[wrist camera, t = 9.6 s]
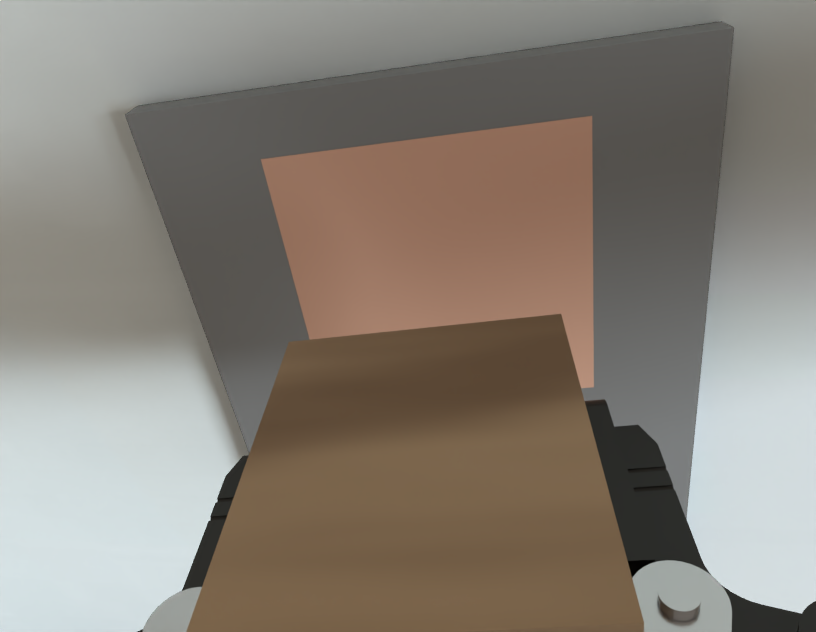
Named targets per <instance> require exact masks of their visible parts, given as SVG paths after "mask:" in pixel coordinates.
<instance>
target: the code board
mask: <svg viewBox="0 0 816 632" xmlns="http://www.w3.org/2000/svg"><path fill="white" fill-rule="evenodd" d="M733 33H734V27H731V26H729V25H727V24H725V23H723V22H715V23H708V24H701V25H694V26H688V27H681V28H674V29H667V30H660V31H653V32H646V33H639V34H632V35H625V36H618V37H611V38H605V39H598V40H591V41H584V42H577V43H570V44H563V45H556V46H549V47H542V48H535V49H528V50H522V51H515V52H508V53H501V54H494V55H487V56H480V57H473V58H466V59H459V60H452V61H445V62H438V63H432V64H425V65H418V66H411V67H404V68H397V69H390V70H383V71H376V72H369V73H362V74H355V75H349V76H342V77H335V78H328V79H321V80H314V81H307V82H300V83H293V84H286V85H279V86H272V87H266V88H259V89H252V90H245V91H238V92H231V93H224V94H217V95H210V96H203V97H196V98H189V99H183V100H176V101H169V102H162V103H155V104H148V105H141V106H137V107H136V108H134V109H133V110H131V111H130V112H128V113H127V114H126V115H125V116H126V119H127V122H128V125H129V127H130V130H131V133H132V136H133V138H134V141H135V144H136V146H137V149H138V152H139V155H140V157H141V160H142V163H143V165H144V168H145V171H146V174H147V176H148V179H149V182H150V185H151V187H152V190H153V193H154V195H155V198H156V201H157V204H158V206H159V209H160V212H161V214H162V217H163V220H164V223H165V225H166V228H167V231H168V233H169V236H170V239H171V242H172V244H173V247H174V250H175V253H176V255H177V258H178V261H179V263H180V266H181V269H182V272H183V274H184V277H185V280H186V282H187V285H188V288H189V291H190V293H191V296H192V299H193V302H194V304H195V307H196V310H197V312H198V315H199V318H200V321H201V323H202V326H203V329H204V331H205V334H206V337H207V340H208V342H209V345H210V348H211V351H212V353H213V356H214V359H215V361H216V364H217V367H218V370H219V372H220V375H221V378H222V380H223V383H224V386H225V389H226V391H227V394H228V397H229V400H230V402H231V405H232V408H233V410H234V413H235V416H236V419H237V421H238V424H239V427H240V429H241V432H242V435H243V438H244V440H245V443H246V446H247V448H248V451H249V453H250V450H251V447H252V445H253V442H254V439H255V436H256V433H257V431H258V428H259V425H260V422H261V419H262V416H263V414H264V411H265V408H266V405H267V402H268V399H269V397H270V394H271V391H272V388H273V385H274V383H275V380H276V377H277V374H278V371H279V368H280V366H281V363H282V360H283V357H284V354H285V352H286V349H287V346H288V343H289V342H292V341H302V340H311V339H321V338H331V337H341V336H350V335H360V334H370V333H379V332H389V331H399V330H408V329H418V328H428V327H437V326H447V325H457V324H467V323H476V322H486V321H496V320H505V319H515V318H525V317H534V316H544V315H554V314H561V315H562V319H563V323H564V326H565V330H566V334H567V338H568V341H569V345H570V349H571V353H572V356H573V360H574V364H575V367H576V371H577V375H578V379H579V382H580V386H581V390H582V393H583V397H584V401H590V400H602V399H605V400H606V402H607V405H608V408H609V411H610V415H611V418H612V421H613V424H614V427H616V426H628V425H639V426H640V427H641V428H642V429H643V430H644V431H645V432H646V433H647V434H648V435H649V436H650V437H651V438H652V439H653V440H654V441H655V442H656V443H657V444H658V446H659V449H660V451H661V454H662V457H663V459H664V462H665V465H666V470H667V471H668V473H669V475H670V478H671V480H672V483H673V488H674V490H675V491H676V494H677V496H678V499H679V502H680V504H681V507H682V509H683V512H684V515H685V517H687V507H688V496H689V486H690V476H691V466H692V455H693V445H694V435H695V424H696V414H697V404H698V393H699V383H700V373H701V363H702V352H703V342H704V332H705V321H706V311H707V301H708V291H709V280H710V270H711V260H712V249H713V239H714V229H715V218H716V208H717V198H718V188H719V177H720V167H721V157H722V146H723V136H724V126H725V115H726V105H727V95H728V85H729V74H730V64H731V54H732V43H733Z"/></svg>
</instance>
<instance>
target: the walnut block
mask: <svg viewBox="0 0 816 632" xmlns="http://www.w3.org/2000/svg"><path fill="white" fill-rule="evenodd" d="M186 632H644V620H643V617H642V613H641V609H640V605H639V602H638V598H637V594H636V591H635V587H634V583H633V579H632V576H631V572H630V568H629V565H628V561H627V557H626V553H625V550H624V546H623V542H622V538H621V535H620V531H619V527H618V524H617V520H616V516H615V512H614V509H613V505H612V501H611V498H610V494H609V490H608V486H607V483H606V479H605V475H604V472H603V468H602V464H601V460H600V457H599V453H598V449H597V446H596V442H595V438H594V434H593V431H592V427H591V423H590V419H589V416H588V412H587V408H586V405H585V401H584V397H583V393H582V390H581V386H580V382H579V379H578V375H577V371H576V367H575V364H574V360H573V356H572V353H571V349H570V345H569V341H568V338H567V334H566V330H565V326H564V323H563V319H562V315H561V314H554V315H544V316H534V317H525V318H515V319H505V320H496V321H486V322H476V323H467V324H457V325H447V326H437V327H428V328H418V329H408V330H399V331H389V332H379V333H370V334H360V335H350V336H341V337H331V338H321V339H311V340H302V341H292V342H289V343H288V346H287V349H286V352H285V354H284V357H283V360H282V363H281V366H280V368H279V371H278V374H277V377H276V380H275V383H274V385H273V388H272V391H271V394H270V397H269V399H268V402H267V405H266V408H265V411H264V414H263V416H262V419H261V422H260V425H259V428H258V431H257V433H256V436H255V439H254V442H253V445H252V447H251V450H250V453H249V456H248V459H247V462H246V464H245V467H244V470H243V473H242V476H241V479H240V481H239V484H238V487H237V490H236V493H235V495H234V498H233V501H232V504H231V507H230V510H229V512H228V515H227V518H226V521H225V524H224V526H223V529H222V532H221V535H220V538H219V541H218V543H217V546H216V549H215V552H214V555H213V558H212V560H211V563H210V566H209V569H208V572H207V574H206V577H205V580H204V583H203V586H202V589H201V591H200V594H199V597H198V600H197V603H196V605H195V608H194V611H193V614H192V617H191V620H190V622H189V625H188V628H187V631H186Z"/></svg>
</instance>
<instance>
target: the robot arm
mask: <svg viewBox="0 0 816 632" xmlns="http://www.w3.org/2000/svg"><path fill="white" fill-rule="evenodd" d="M585 405H586V408H587V412H588V416H589V419H590V423H591V427H592V431H593V434H594V438H595V442H596V446H597V449H598V453H599V457H600V460H601V464H602V468H603V472H604V475H605V479H606V483H607V486H608V490H609V494H610V498H611V501H612V505H613V509H614V512H615V516H616V520H617V524H618V527H619V531H620V535H621V538H622V542H623V546H624V550H625V553H626V557H627V561H628V565H629V568H630V572H631V576H632V579H633V583H634V587H635V591H636V594H637V598H638V602H639V605H640V609H641V613H642V617H643V620H644V632H816V601H815V602H813V603H812V604H810V605H809V606H808V607H807V608H806V609H805V610H804V611H803V613H802V614H800V613H796V612H791V611H787V610H783V609H778V608H774V607H770V606H765V605H761V604H758V603H754V602H751V601H749V600H746V599H744V598H741V597H739V596H737V595H736V594H734V593H732V592H730V591H729V590H728V589H726V588H725V587H723V586H722V585H721V584H720V583H719V582H718V581H717V580H716V579H715V578H714V577H713V576H712V575H711V574H710V573H709V572H708V570H707V569H706V567H705V566H704V564H703V561H702V559H701V557H700V554H699V552H698V549H697V546H696V544H695V541H694V538H693V536H692V533H691V531H690V528H689V525H688V523H687V520H686V517H685V515H684V512H683V509H682V507H681V504H680V502H679V499H678V496H677V494H676V491H675V490H674V488H673V483H672V480H671V478H670V475H669V473H668V471H667V470H666V465H665V462H664V459H663V457H662V454H661V451H660V449H659V446H658V444H657V443H656V442H655V441H654V440H653V439H652V438H651V437H650V436H649V435H648V434H647V433H646V432H645V431H644V430H643V429H642V428H641V427H640V426H639V425H628V426H616V427H614V424H613V421H612V418H611V415H610V411H609V408H608V405H607V402H606V400H605V399H602V400H590V401H585ZM247 459H248V456H243V457H242V458H241V459H240V460H239V462H238V463H237V464H236V465H235V466H234V467H233V468H232V470H231V471H230V472H229V473H228V474H227V475H226V477H225V480H224V482H223V485H222V487H221V490H220V493H219V495H218V498H217V499H218V502H217V503H215V506H214V508H213V511H212V514H211V516H210V517H211V521H209V522H208V524H207V527H206V530H205V532H204V535H203V537H202V540H201V543H200V545H199V548H198V551H197V553H196V556H195V558H194V561H193V564H192V566H191V569H190V572H189V574H188V577H187V580H186V582H185V585H184V587H183V589H182V591H181V592H179V593H176V594H175V595H173V596H171V597H170V598H168V599H167V600H165V601H164V602H163V603H162V604H161V605H160V606H158V607H157V608H156V610H155V611H154V612H153V613H152V614H151V616H150V617H149V619H148V620H147V622H146V624H145V626H144V628H143V629H142V630H140V631H138V632H186V631H187V628H188V625H189V622H190V620H191V617H192V614H193V611H194V608H195V605H196V603H197V600H198V597H199V594H200V591H201V589H202V586H203V583H204V580H205V577H206V574H207V572H208V569H209V566H210V563H211V560H212V558H213V555H214V552H215V549H216V546H217V543H218V541H219V538H220V535H221V532H222V529H223V526H224V524H225V521H226V518H227V515H228V512H229V510H230V507H231V504H232V501H233V498H234V495H235V493H236V490H237V487H238V484H239V481H240V479H241V476H242V473H243V470H244V467H245V464H246V462H247Z"/></svg>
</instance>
